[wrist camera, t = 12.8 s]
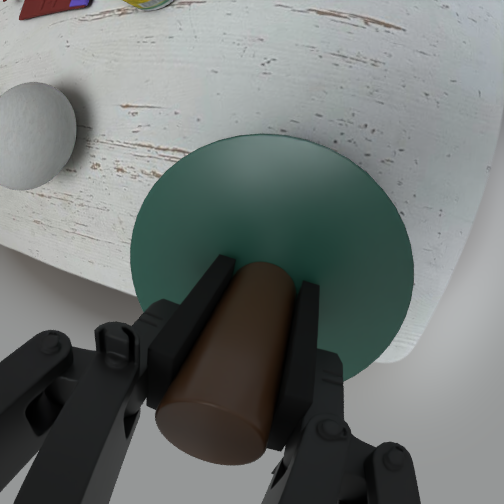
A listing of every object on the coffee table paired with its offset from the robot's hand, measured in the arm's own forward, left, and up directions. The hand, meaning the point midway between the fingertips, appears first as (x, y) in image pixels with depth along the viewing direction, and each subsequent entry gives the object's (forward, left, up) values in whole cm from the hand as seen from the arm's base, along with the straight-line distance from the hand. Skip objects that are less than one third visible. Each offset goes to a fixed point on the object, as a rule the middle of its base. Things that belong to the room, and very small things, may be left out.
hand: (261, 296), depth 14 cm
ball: (+24, -3, -12) cm, 27 cm away
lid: (0, 0, -1) cm, 1 cm away
